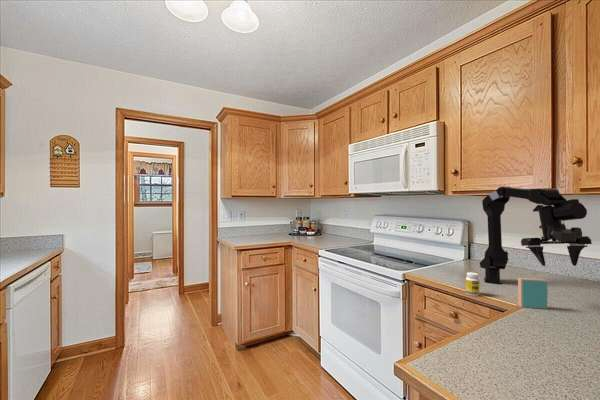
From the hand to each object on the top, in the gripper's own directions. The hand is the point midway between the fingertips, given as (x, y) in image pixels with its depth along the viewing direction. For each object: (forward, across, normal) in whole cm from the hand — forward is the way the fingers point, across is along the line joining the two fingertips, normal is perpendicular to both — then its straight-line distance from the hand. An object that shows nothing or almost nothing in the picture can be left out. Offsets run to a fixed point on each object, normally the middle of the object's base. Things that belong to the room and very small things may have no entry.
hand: (559, 265), depth 98 cm
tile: (+14, -10, +1) cm, 17 cm away
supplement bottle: (+12, -26, +11) cm, 30 cm away
